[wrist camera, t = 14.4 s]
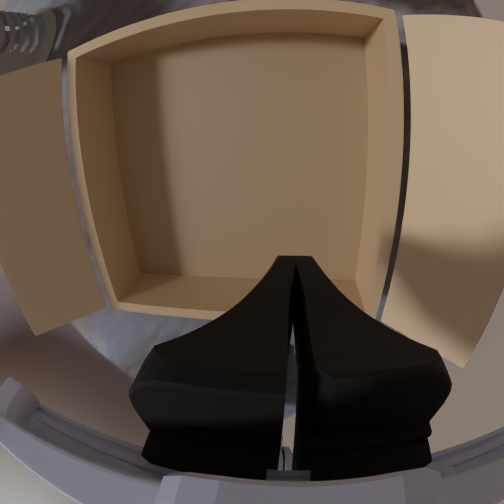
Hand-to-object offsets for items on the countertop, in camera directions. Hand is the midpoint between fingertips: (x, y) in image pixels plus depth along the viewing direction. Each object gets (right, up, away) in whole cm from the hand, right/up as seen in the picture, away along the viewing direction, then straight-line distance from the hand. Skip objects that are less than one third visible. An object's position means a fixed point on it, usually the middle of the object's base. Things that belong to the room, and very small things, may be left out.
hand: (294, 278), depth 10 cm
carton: (-3, +7, +8) cm, 12 cm away
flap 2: (+9, +4, 0) cm, 10 cm away
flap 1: (-16, +4, +3) cm, 17 cm away
